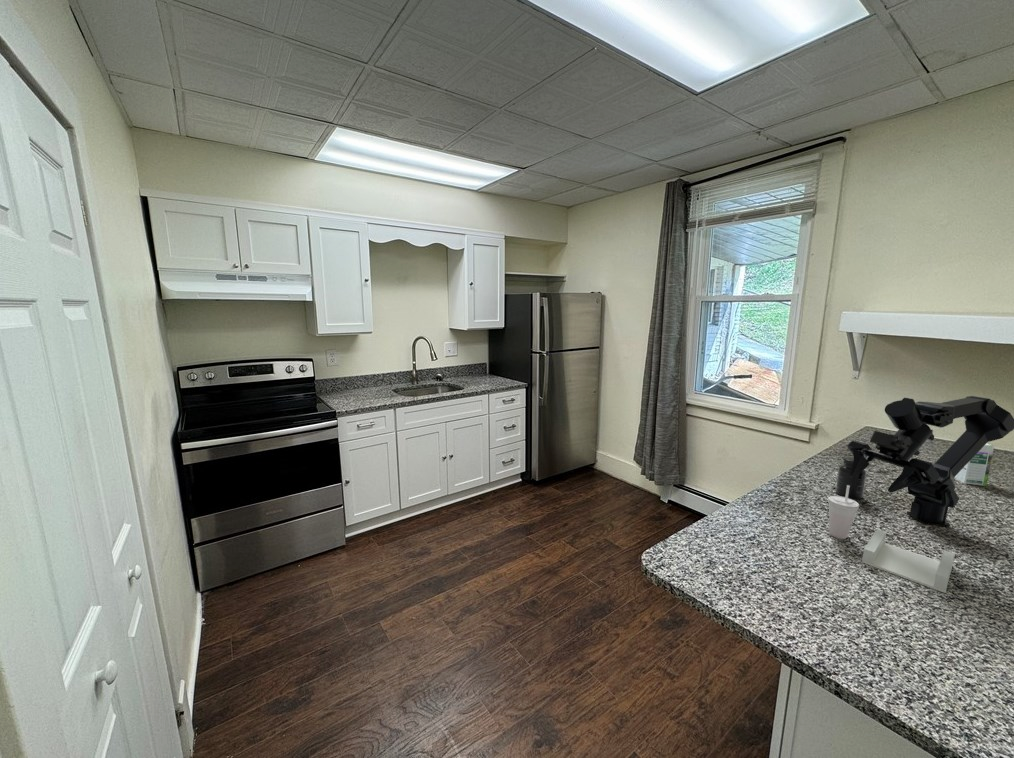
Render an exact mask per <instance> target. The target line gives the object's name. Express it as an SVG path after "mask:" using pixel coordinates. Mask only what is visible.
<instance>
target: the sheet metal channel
mask: <svg viewBox="0 0 1014 758" xmlns="http://www.w3.org/2000/svg"><path fill="white" fill-rule="evenodd" d="M886 536H887V531H884V530H881V529H879V528H877V529H875V531H874V533H873V535H872V536H871V538H870V539H869V541H868V542H867V544H866V545H865V547H864V548H863V555H862V559H861V562H862V563H863V564H864V565H865V564H866V565H869V566H871V567H874V568H877V569H879V570H881V571H885V572H887V573H890V574H892V575H895V576H898V577H901V578H904V579H906V580H909V581H911V582H914V583H916V584H920V585H922V586H924V587H926V588H927V587H928V588H931V589H933V590H936V591H939V592H941V593H944V594H947V593H946V592H947V588H948V584H949V581H950V576H951V573H952V569H953V564H954V559H955V555H956V553H955V552H951V551H948V550H942V555H941V556H940V557H941V558H940V560H938V559H934V558H932V557H928V556H925V555H923V554H919V553H916V552H913V551H910V550H907V549H904V548H901V547H898V546H895V545H893V544H889V543H886Z"/></svg>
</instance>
